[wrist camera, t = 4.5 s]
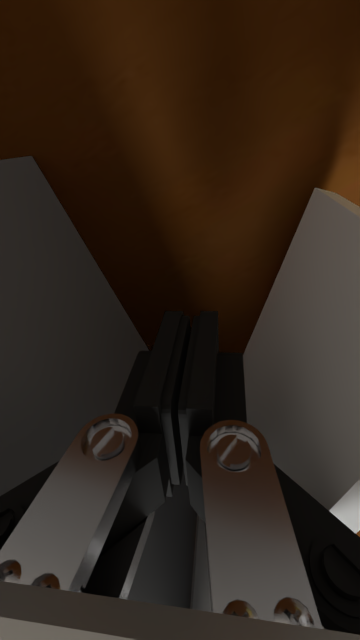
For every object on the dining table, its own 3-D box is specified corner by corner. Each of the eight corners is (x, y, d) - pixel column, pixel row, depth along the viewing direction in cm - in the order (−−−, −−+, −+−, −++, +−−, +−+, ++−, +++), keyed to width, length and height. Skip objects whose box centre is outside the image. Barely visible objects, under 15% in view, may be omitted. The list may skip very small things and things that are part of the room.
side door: (228, 458, 20) (229, 671, 12) (200, 451, 20) (184, 660, 12) (361, 200, 12) (665, 357, 4) (313, 186, 11) (509, 317, 4)
